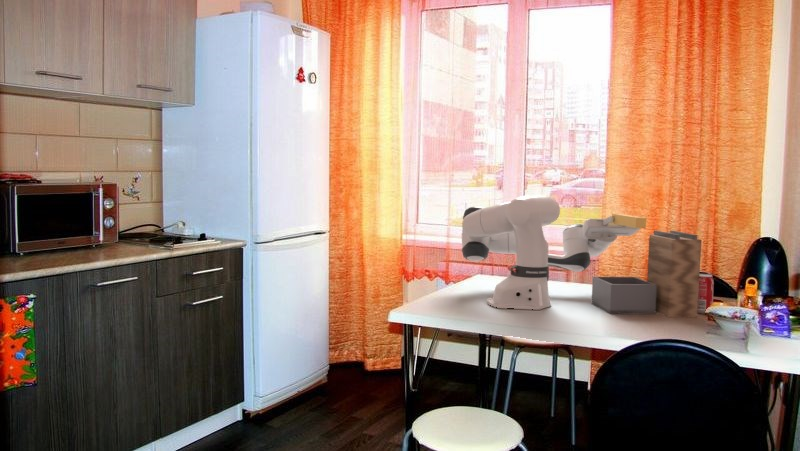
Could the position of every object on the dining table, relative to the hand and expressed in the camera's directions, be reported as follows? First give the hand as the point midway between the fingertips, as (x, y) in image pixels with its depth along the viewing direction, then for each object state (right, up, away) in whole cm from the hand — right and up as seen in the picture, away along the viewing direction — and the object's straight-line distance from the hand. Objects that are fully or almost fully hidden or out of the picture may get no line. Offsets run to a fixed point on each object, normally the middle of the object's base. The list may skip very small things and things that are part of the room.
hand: (619, 217), depth 232 cm
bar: (+1, -3, -7) cm, 8 cm away
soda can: (+25, -33, -11) cm, 43 cm away
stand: (+14, -33, -12) cm, 37 cm away
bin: (-2, -32, -8) cm, 33 cm away
